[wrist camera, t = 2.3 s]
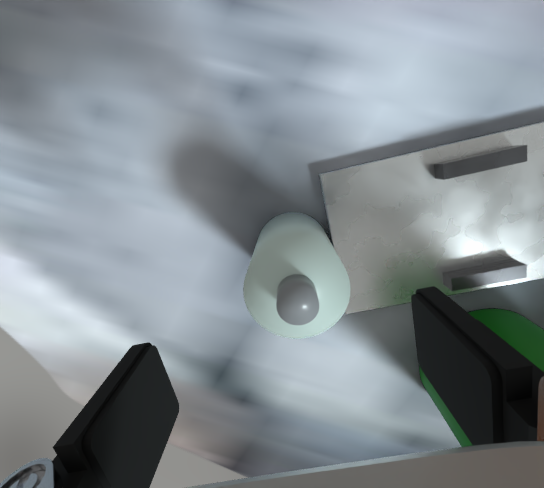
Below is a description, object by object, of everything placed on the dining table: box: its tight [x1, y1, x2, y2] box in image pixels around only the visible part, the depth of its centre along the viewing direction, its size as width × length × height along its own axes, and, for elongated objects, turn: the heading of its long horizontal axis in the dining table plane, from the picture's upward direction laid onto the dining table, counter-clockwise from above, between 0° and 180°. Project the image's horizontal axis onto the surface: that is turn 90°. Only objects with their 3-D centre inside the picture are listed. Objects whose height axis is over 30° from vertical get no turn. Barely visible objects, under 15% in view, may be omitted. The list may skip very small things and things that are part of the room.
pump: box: [243, 212, 351, 339], centre depth 18 cm, size 6×6×10 cm
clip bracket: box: [319, 121, 544, 314], centre depth 20 cm, size 20×11×2 cm, turn 103°
